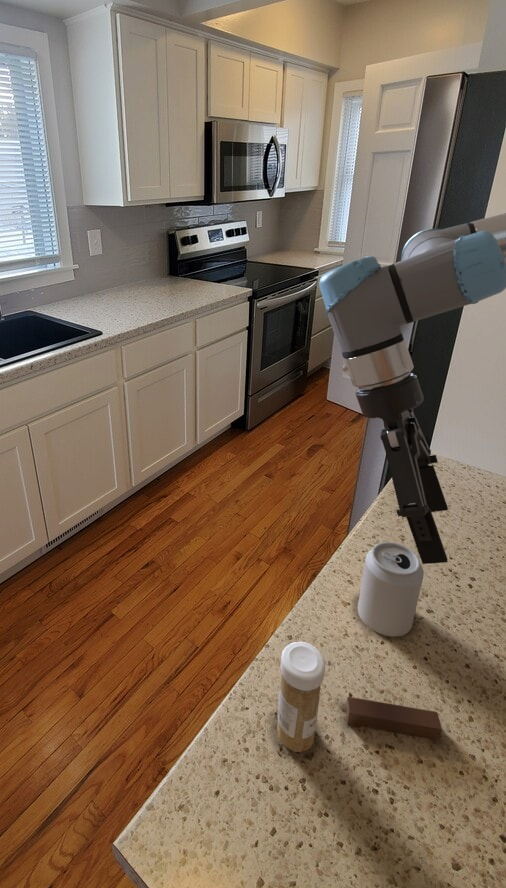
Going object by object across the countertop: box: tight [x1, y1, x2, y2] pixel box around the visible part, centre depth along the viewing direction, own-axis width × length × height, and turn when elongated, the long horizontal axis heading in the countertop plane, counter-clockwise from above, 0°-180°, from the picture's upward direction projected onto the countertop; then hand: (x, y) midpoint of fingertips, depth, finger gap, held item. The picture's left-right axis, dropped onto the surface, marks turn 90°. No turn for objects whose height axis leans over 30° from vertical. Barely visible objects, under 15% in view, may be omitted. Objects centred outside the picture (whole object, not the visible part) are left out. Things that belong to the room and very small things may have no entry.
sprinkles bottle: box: [276, 641, 326, 753], centre depth 54 cm, size 5×5×14 cm
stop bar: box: [344, 696, 443, 742], centre depth 57 cm, size 10×2×3 cm, turn 79°
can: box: [357, 541, 425, 638], centre depth 69 cm, size 8×8×12 cm
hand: (436, 533), depth 63 cm, fingers open, 13 cm apart
